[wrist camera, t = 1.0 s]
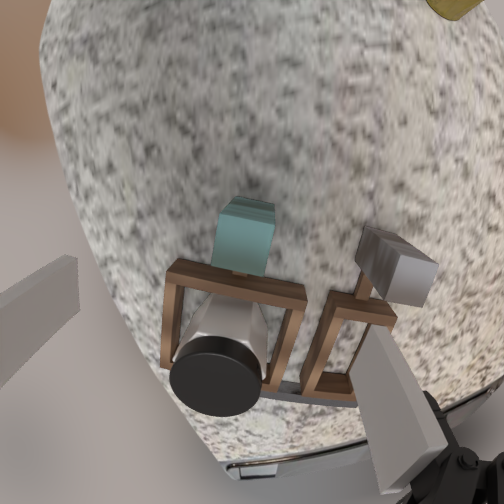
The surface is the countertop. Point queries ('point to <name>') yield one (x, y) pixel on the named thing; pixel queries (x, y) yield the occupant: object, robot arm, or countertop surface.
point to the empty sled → (367, 305)
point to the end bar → (293, 394)
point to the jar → (221, 357)
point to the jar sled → (237, 281)
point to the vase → (453, 7)
